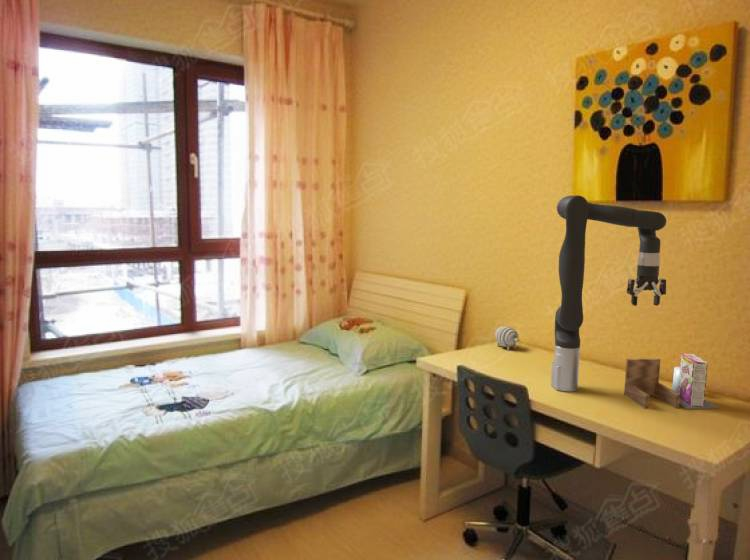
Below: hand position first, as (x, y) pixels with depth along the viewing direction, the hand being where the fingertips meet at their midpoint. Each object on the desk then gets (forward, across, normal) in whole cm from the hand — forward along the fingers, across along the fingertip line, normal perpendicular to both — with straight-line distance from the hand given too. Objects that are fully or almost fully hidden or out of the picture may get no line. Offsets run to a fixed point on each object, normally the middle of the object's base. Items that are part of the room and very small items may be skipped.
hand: (645, 305), depth 200 cm
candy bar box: (+33, +10, -17) cm, 38 cm away
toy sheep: (+33, -36, +58) cm, 76 cm away
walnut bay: (+33, -4, -16) cm, 37 cm away
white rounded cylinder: (+33, +14, -6) cm, 37 cm away
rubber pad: (+33, +10, -17) cm, 39 cm away
